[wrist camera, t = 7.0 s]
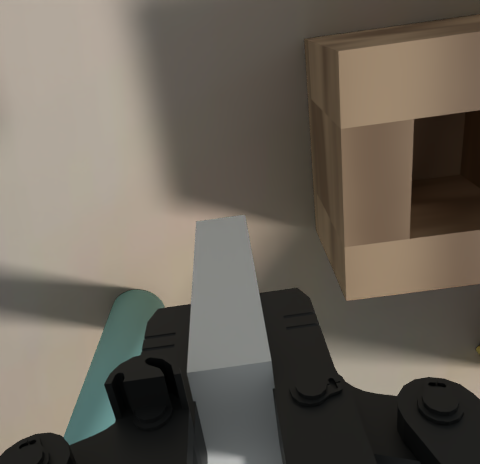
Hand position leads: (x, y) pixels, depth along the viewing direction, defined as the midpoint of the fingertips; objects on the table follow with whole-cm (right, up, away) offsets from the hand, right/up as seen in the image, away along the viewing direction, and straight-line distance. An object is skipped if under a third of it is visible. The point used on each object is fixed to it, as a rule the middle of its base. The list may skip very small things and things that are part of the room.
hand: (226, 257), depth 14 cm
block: (+9, +6, +9) cm, 14 cm away
